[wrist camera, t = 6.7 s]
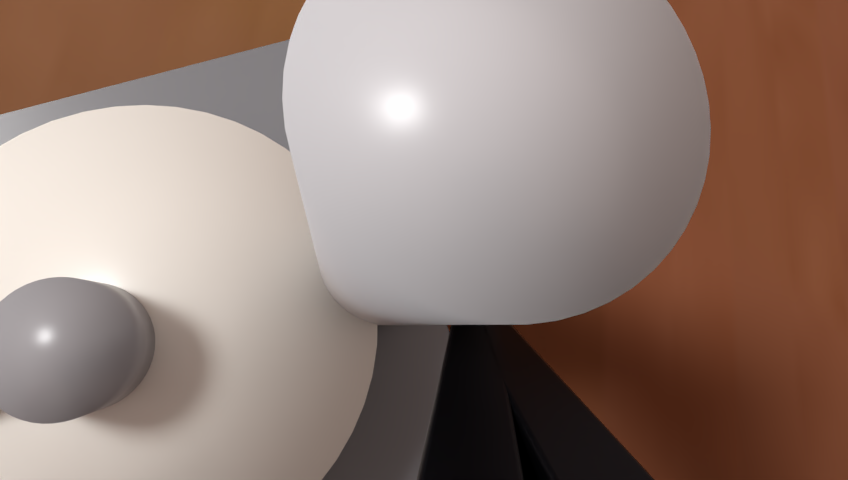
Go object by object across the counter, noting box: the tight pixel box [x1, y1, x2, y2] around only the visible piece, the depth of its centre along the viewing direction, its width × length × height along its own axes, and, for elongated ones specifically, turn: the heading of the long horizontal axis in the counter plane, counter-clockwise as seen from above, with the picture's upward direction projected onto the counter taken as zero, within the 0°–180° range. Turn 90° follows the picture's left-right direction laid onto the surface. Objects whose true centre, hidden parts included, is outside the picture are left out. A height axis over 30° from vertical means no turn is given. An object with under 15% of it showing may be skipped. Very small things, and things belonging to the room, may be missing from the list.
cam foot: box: [0, 0, 711, 480], centre depth 8 cm, size 14×9×10 cm, turn 108°
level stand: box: [0, 40, 450, 480], centre depth 11 cm, size 16×16×5 cm
